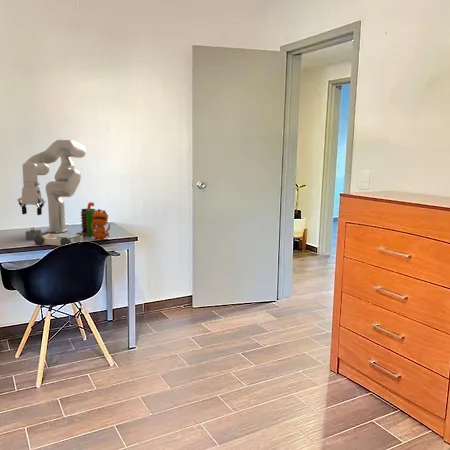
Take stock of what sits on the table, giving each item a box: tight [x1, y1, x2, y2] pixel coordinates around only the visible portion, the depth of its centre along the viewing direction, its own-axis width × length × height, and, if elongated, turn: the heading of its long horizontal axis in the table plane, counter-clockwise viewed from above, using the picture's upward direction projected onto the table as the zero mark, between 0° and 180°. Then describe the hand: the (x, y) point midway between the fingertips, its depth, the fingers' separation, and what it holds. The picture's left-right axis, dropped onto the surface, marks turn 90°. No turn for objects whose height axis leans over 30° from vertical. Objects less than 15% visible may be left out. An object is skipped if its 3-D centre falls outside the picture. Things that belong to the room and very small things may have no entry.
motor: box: [80, 201, 97, 237], centre depth 272 cm, size 10×9×20 cm
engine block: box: [25, 227, 42, 241], centre depth 259 cm, size 7×5×6 cm
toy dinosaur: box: [91, 209, 111, 240], centre depth 262 cm, size 11×11×18 cm
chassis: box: [33, 231, 85, 247], centre depth 250 cm, size 16×22×5 cm
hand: (31, 214), depth 256 cm, fingers open, 9 cm apart
